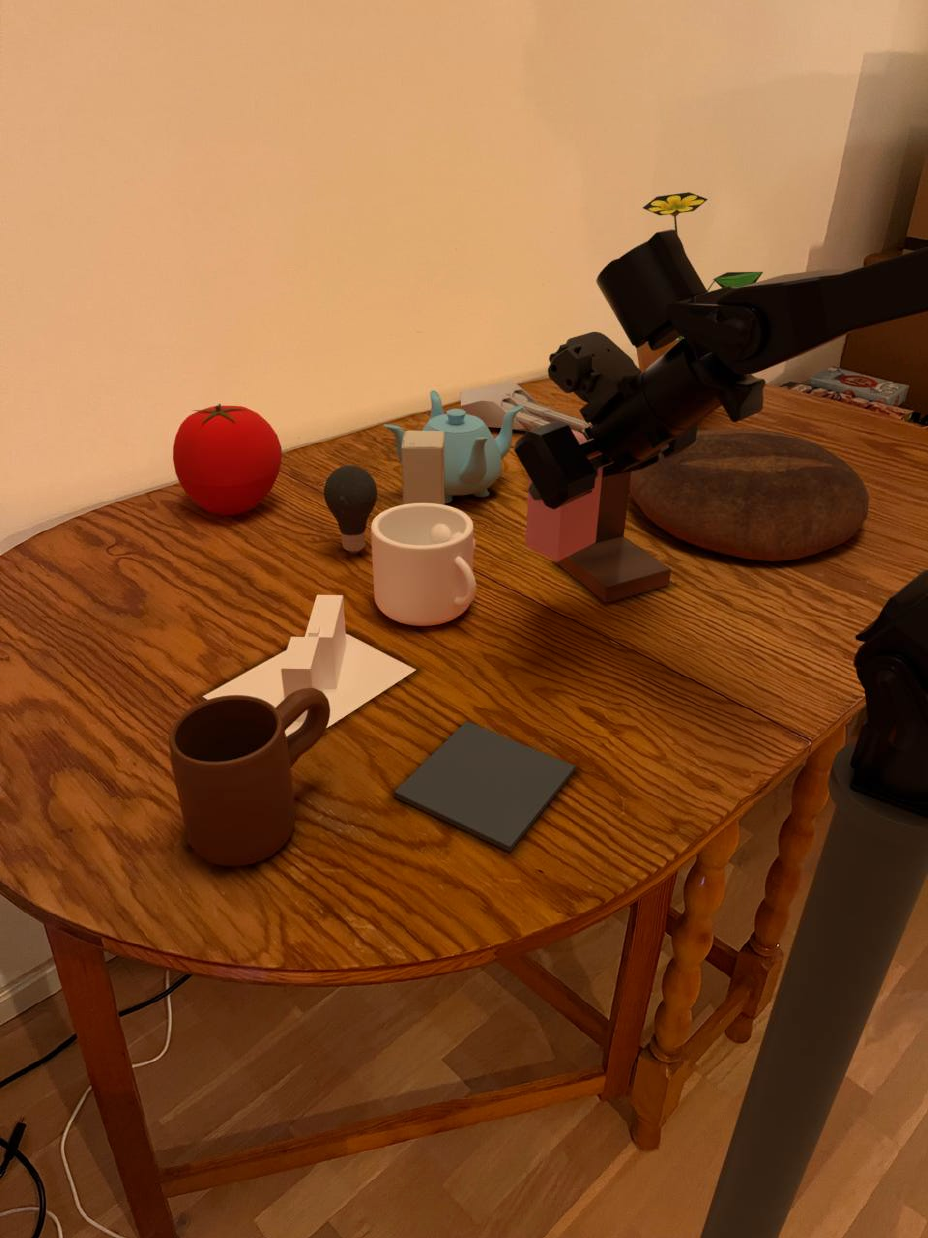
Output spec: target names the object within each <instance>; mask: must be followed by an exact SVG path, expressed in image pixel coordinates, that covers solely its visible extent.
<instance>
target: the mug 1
mask: <svg viewBox="0 0 928 1238" xmlns="http://www.w3.org/2000/svg"><path fill="white" fill-rule="evenodd" d="M306 710H308V713H307V716H306V719H305V721H304V723H303V724H302V726H301V727H300V728H299V729H298V730H296V731H295V732H293V733H291V734H290V735H288V736H287V737H286V734H285V730H286V729H287V728H288V727H289V726H290V725H291V724H292V723H293V722H294V721H295V720H296V719H297V718H299V717H300V716H301V715H302V714H303V713H304V712H305V711H306ZM329 718H330V705H329V700H328V699H327V697H326V696H325V694H324V693H323V692H322V691H320V690H318V689H315V688H313V687H312V688H304V689H300V690H297V691H295V692H293V693H291V694H289V695H288V696H287V697H286V698H285V699H284V700H283V701H282V702H281V703H280V704H279V705H278V706H277V707H276V708H275V707H274V706H273V705H271V704H270V703H268V702H266V701H264V700H262V699H259V698H256V697H252V696H245V695H229V696H221V697H216V698H212V699H209V700H207V699H205V700H203V701H201V702H198V703H197V704H195V705H193V706H190V707H189V708H188V709H186V710H185V711H184V712H183V713H181V714H180V715H179V716H178V717H177V718H176V720H175V721H174V722H173V724H172V726H171V728H170V731H169V734H168V745H169V752H170V753H169V754H170V764H171V769H172V774H173V778H174V783H175V788H176V793H177V798H178V803H179V806H180V811H181V815H182V819H183V822H184V823H183V824H184V828H185V829H184V830H185V833H186V836H187V839H188V842H189V844H190V846H191V848H192V850H193V851H194V852H195V853H196V854H197V855H198V856H200V858H201V859H204V861H207V862H209V863H212V864H214V865H218V866H221V867H222V866H223V867H231V868H232V867H233V868H234V867H244V866H249V865H254V864H256V863H259V862H262V861H264V860H267V859H268V858H270V857H272V856H273V855H275V854H276V853H277V852H279V851H280V850H281V849H282V848H283V847H284V846H285V844H286V843H287V842H288V841H289V839H290V837H291V836H292V834H293V831H294V828H295V824H296V808H295V807H296V806H295V797H294V788H293V778H292V777H293V776H292V770H291V769H292V768H293V766H294V765H295V763H297V761H298V760H299V758H300V757H301V756H302V755H303V754H305V753H306V752H308V751H310V750H311V749H312V748H313V747H314V746H315V745H316V744H317V743H318V742H319V741H320V739H321V738H322V737H323V735H324V733H325V732H326V730H327V728H326V727H327V725H328V722H329Z"/></svg>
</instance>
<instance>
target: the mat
mask: <svg viewBox="0 0 928 1238" xmlns="http://www.w3.org/2000/svg"><path fill="white" fill-rule="evenodd" d="M575 772H576V765H574V764H572V763H569V762H566V761H565V760H562V759H559V758H558V757H556V756H552V755H550V754H547V753H545V752H543V751H540V750H538V749H536V748H533V747H530V746H529V745H526V744H524V743H521V742H518V741H517V740H514V739H511V738H509V737H507V736H505V735H501V734H499V733H497V732H494V731H492V730H490V729H487V728H484V727H482V726H480V725H477V724H475V723H473V722H470V721H468V720H466V721H464V722H463V724H462V725H461V726H460V727H459V728H458V729H457V730H455V732H454V733H452V735H450V736H449V737H448V738H447V739H446V740H445V741H444V742H443V743H442V744H441V745H440V746H439V747H438V748H437V749H436V750H435V751H434V752H433V753H432V754H430V756H429V757H428V758H427V759H426V760H424V762H423V763H422V764H421V765H420V766H419V767H418V768H417V769H416V770H415V771H413V773H412V774H410V776H408V778H406V780H405V781H404V782H402V783H401V785H399V786H398V787H397V788H396V789H395V790H394V791H393V793H394V794H393V795H394V796H393V797H394V798H396V799H398V800H400V801H402V802H404V803H405V804H408V805H410V806H412V807H414V808H416V809H419V810H421V811H423V812H425V813H427V814H429V815H431V816H433V817H435V818H437V819H439V820H441V821H443V822H445V823H448V824H450V825H452V826H454V827H455V828H458V829H460V830H462V831H464V832H466V833H469V834H470V835H473V836H474V837H476V838H479V839H481V840H483V841H485V842H487V843H489V844H491V845H494V846H495V847H497V848H499V849H502V850H504V851H506V852H508V853H511V852H512V851H513V849H514V848H515V847H516V846H517V844H518V843H519V842H520V841H521V840H522V838H523V837H524V836H525V835H526V833H527V832H528V831H529V829H530V828H531V827H532V826H533V825H534V823H535V822H536V821H537V820H538V818H539V817H540V816H541V814H543V812H544V811H545V809H546V808H547V807H548V806H549V805H550V803H551V802H552V801H553V799H554V798H555V797H556V796H557V794H558V793H559V792H560V791H561V790H562V788H563V787H564V786H565V784H566V783H567V782H568V781H569V779H570V778H571V777H572V776H573V774H574V773H575Z"/></svg>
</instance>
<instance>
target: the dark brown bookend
mask: <svg viewBox="0 0 928 1238" xmlns="http://www.w3.org/2000/svg"><path fill="white" fill-rule="evenodd" d="M630 479H631V472H626V473H621V474H615V475H610V476H605V477H602V482H601V492H600V502H599V512H598V523H597V533H596V542H595V543H593V544H592V545H590V546H588V547H586V548H584V549H582V550H580V551H578V552H576V553H574V554H572V555H570V556H568V557H566V558H564V559H562V560H560V561H558V562H557V566H559V568H561V569H562V570H563V571H565V572H566V573H567V574H569V575H570V576H571V577H572V578H573V579H574V580H576V581H577V582H578V583H579V584H581V585H582V586H583V587H585V588H586V589H587V590H588V591H590V592H591V593H592V594H593V595H595V596H596V597H597V598H598V599H600V600H601V601H602V602H603V603H604V604H608V603H612V602H617V601H619V600H622V599H623V600H624V599H626V598H630V597H634V596H636V595H637V596H638V595H639V594H644V593H647V592H651V591H654V590H657V589H661V588H665V587H669V586H670V580H671V573H672V568H671V567H669V566H668V565H667V564H665V563H663V562H662V561H660V560H659V559H658V558H656V557H654V555H652V554H650V553H649V552H648V551H646V550H645V549H643V548H642V547H640V546H639V545H637V544H636V543H635V542H634V541H632V540H630V539H629V538H628V537H626V536H625V529H626V521H627V520H626V519H627V511H628V503H629V496H630V495H629V494H630V489H629V487H630Z"/></svg>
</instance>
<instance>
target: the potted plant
mask: <svg viewBox="0 0 928 1238" xmlns="http://www.w3.org/2000/svg"><path fill="white" fill-rule="evenodd" d="M708 200H709V199H708V198H706V197H703V196H700V195H698V194H695V193H692V192H690V191H689V192H680V193H674V194H673V193H672V194H667V195H660V196H656V197H654V198H653V199H652V200H650V201H649V202H648V203H646V204H645V205H644V206H642V210H643V209H644V210H646V211H647V212H650V213H653V214H655V215H658V216H667V215H670V216H671V217H673V221H674V230H675V231H676V233H677V235H678V236H679V233H678V224H677V216H679V214H683V213H689V212H690V213H691V212H695V211H696V210H697V209H698V208H700V207H701V206H702V205H703V204H704V203H705V202H707V201H708ZM763 274H764V271H727V272H725V273H723V274H721V275H719V276H717V277H715V278H712V280H713V281H712V283H711V284H710V286H709V287H708V289H707V292H710V290H711V288H712V286H713V285H714V284H715V283H716V284H717V285H718V286H719V287H720V288H724V287H728V286H731V287H742V286H746V285H749V284H753V283H756V282H758V280H759V279H760V277H762V275H763ZM683 338H684V337H683V336H681V337H679V338H678V339H676V340H675V341H673V342H671V343H670V344H668V345H666V346H664V347H662V348H660V349H657V350H654V351H653V350H651V348H650V347H649V345H648V342H647V343H645V344H644V345H642V346H640V347H639V348H636V347H635V349H636V355H637V362H638V368H639V369H640V370H641V371H642V372H643V371H644V370H645V369H647V368H648V367H649V366H650V365H651V364H653V363H654V362H655V361H656V360H658V359H659V358H660V357H661V356H662V355H664V354H665V353H666V352H667V351H669V350H670V349H671V348H672V347H673V346H675V345H676V344H677V343H678V342H680V341H681V340H682V339H683Z"/></svg>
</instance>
